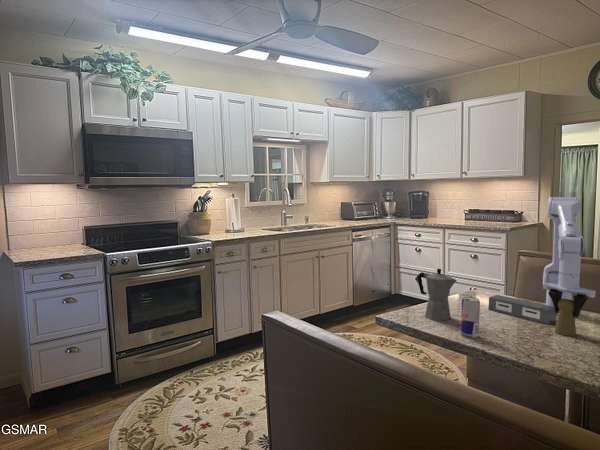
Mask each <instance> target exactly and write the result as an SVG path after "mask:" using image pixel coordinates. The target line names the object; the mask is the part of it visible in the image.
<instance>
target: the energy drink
mask: <svg viewBox="0 0 600 450" xmlns="http://www.w3.org/2000/svg"><path fill="white" fill-rule="evenodd" d="M480 307H481V302H480V298H477V297H474V296H473V297H472V296H465V297H462V299H461V313H460V314H461V315H460V316H461V318H460V320H461V321H460V335H461V336H462V337H464V338H468V339H477V338H478V337H479V335H480V309H481V308H480Z"/></svg>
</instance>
